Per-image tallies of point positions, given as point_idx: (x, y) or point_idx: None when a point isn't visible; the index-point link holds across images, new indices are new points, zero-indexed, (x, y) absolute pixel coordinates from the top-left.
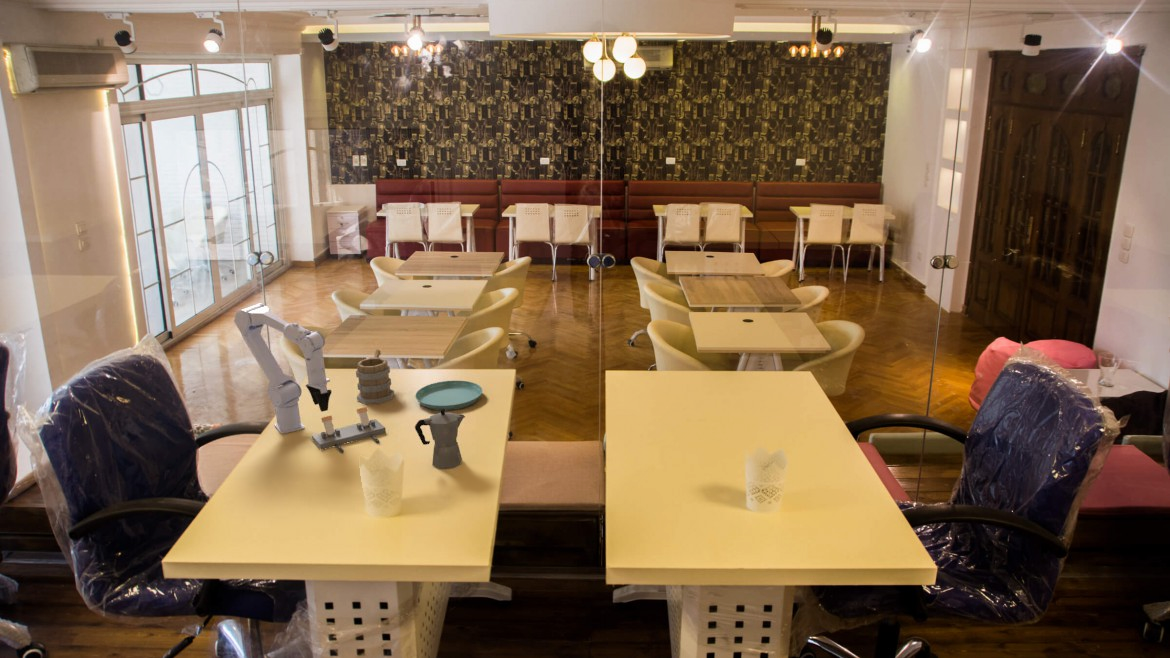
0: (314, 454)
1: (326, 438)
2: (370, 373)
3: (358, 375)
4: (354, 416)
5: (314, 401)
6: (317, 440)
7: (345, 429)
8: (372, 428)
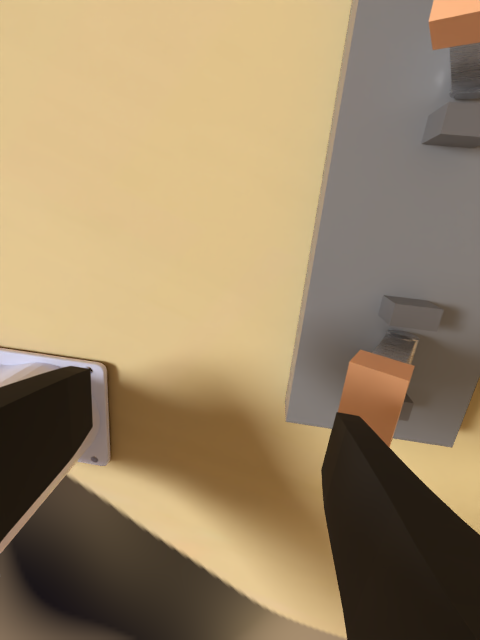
0: (455, 464)
1: None
2: None
3: None
4: (88, 26)
5: (65, 456)
6: None
7: (372, 231)
8: None
